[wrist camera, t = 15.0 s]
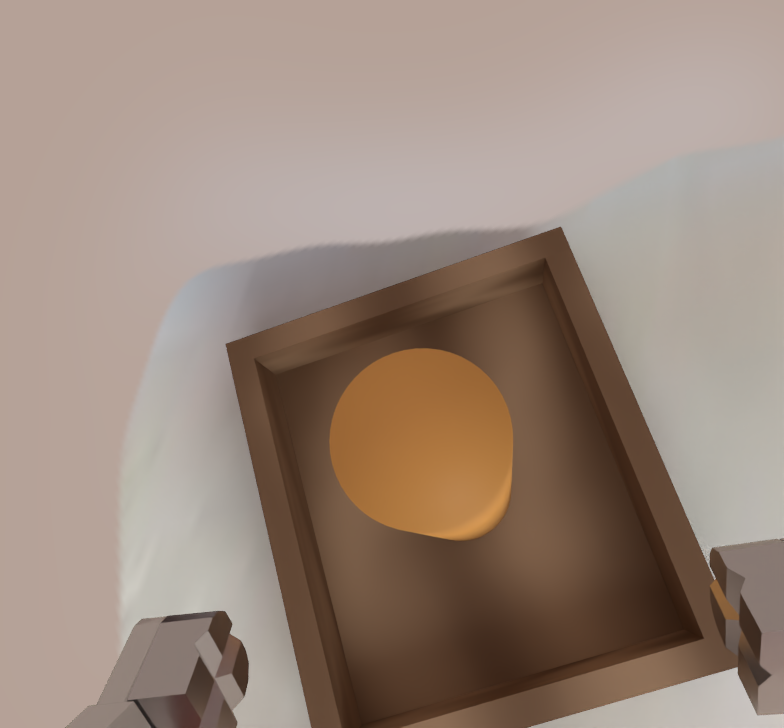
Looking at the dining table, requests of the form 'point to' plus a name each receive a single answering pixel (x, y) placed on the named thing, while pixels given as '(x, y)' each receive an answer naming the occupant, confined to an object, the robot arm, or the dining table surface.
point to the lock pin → (425, 445)
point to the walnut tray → (501, 545)
